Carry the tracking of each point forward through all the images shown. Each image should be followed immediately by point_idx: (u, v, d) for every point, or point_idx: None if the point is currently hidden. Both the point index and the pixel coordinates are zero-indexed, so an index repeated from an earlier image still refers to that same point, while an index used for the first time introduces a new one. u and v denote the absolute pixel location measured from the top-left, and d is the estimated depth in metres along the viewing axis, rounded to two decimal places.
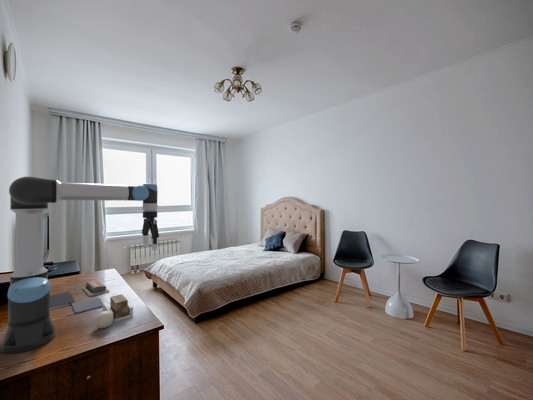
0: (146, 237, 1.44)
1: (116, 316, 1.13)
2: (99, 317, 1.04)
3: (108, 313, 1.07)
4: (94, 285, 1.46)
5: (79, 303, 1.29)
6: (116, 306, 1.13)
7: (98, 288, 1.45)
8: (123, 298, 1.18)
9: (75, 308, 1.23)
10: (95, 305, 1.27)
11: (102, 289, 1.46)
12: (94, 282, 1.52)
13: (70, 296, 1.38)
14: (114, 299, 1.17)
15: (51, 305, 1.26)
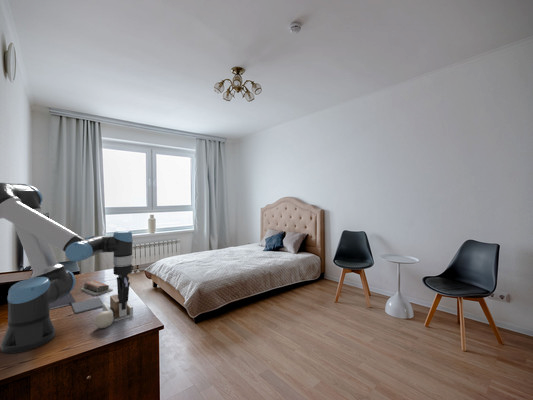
0: None
1: (116, 315, 1.14)
2: (99, 317, 1.04)
3: (108, 313, 1.07)
4: (96, 285, 1.47)
5: (79, 303, 1.29)
6: (116, 305, 1.14)
7: (102, 287, 1.46)
8: None
9: (75, 308, 1.23)
10: (95, 305, 1.27)
11: (105, 288, 1.48)
12: (94, 282, 1.51)
13: (70, 296, 1.38)
14: (114, 298, 1.18)
15: (51, 305, 1.26)
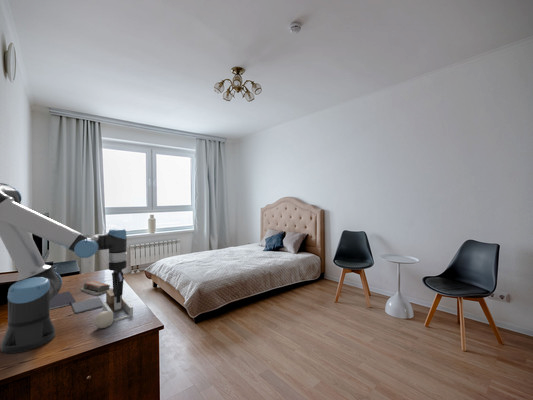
0: None
1: (111, 308, 1.21)
2: (99, 317, 1.04)
3: (108, 313, 1.07)
4: (97, 285, 1.47)
5: (79, 303, 1.29)
6: (111, 299, 1.21)
7: (103, 287, 1.46)
8: None
9: (75, 308, 1.23)
10: (95, 305, 1.27)
11: (106, 288, 1.48)
12: (94, 282, 1.51)
13: (70, 296, 1.38)
14: (109, 292, 1.25)
15: (51, 305, 1.26)
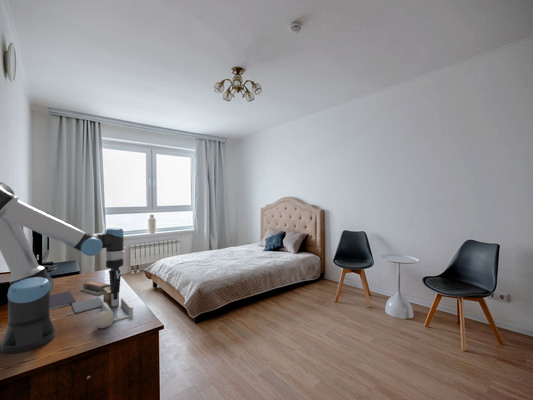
0: None
1: (108, 305, 1.25)
2: (99, 317, 1.04)
3: (108, 313, 1.07)
4: (98, 284, 1.47)
5: (79, 303, 1.29)
6: (108, 296, 1.25)
7: (104, 287, 1.47)
8: None
9: (75, 308, 1.23)
10: (95, 305, 1.27)
11: None
12: (94, 282, 1.51)
13: (70, 296, 1.38)
14: (106, 290, 1.29)
15: (51, 305, 1.26)
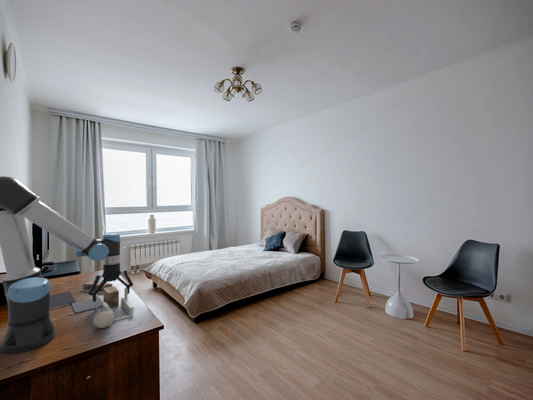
0: (125, 290, 1.33)
1: (108, 305, 1.25)
2: (99, 317, 1.04)
3: (108, 313, 1.07)
4: None
5: (79, 303, 1.29)
6: (108, 296, 1.25)
7: (107, 286, 1.48)
8: (115, 289, 1.30)
9: (75, 308, 1.23)
10: None
11: None
12: None
13: (70, 296, 1.38)
14: (106, 290, 1.29)
15: (52, 305, 1.26)
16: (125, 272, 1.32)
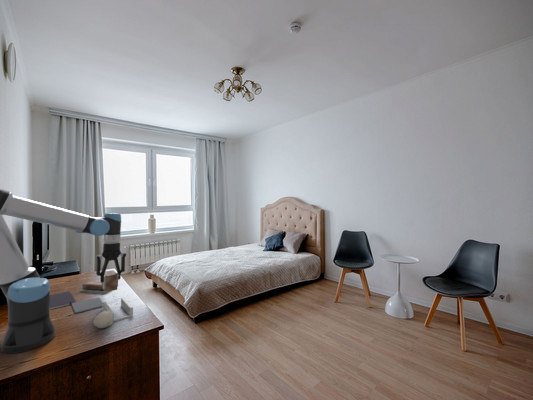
0: None
1: (106, 288, 1.25)
2: (99, 317, 1.04)
3: (108, 313, 1.07)
4: (101, 284, 1.48)
5: (79, 303, 1.29)
6: (107, 279, 1.25)
7: None
8: (114, 273, 1.30)
9: (75, 308, 1.23)
10: (95, 305, 1.27)
11: None
12: (94, 282, 1.51)
13: (70, 296, 1.38)
14: (105, 273, 1.28)
15: (52, 305, 1.26)
16: (124, 255, 1.32)
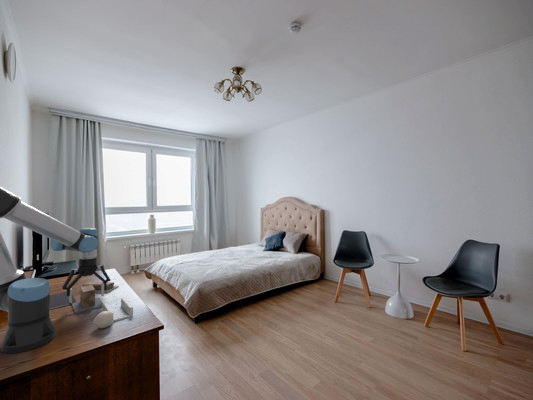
0: (102, 285, 1.32)
1: (84, 304, 1.25)
2: (99, 317, 1.04)
3: (108, 313, 1.07)
4: None
5: (79, 303, 1.29)
6: (84, 295, 1.25)
7: (110, 285, 1.50)
8: (91, 288, 1.30)
9: (75, 308, 1.23)
10: (95, 305, 1.27)
11: (112, 286, 1.52)
12: (94, 282, 1.51)
13: None
14: (83, 289, 1.28)
15: (52, 305, 1.26)
16: (102, 267, 1.31)
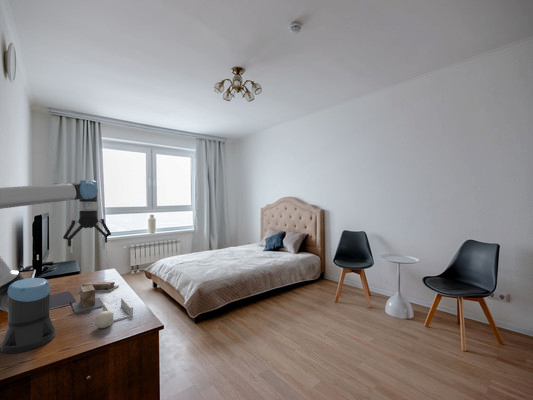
0: (102, 239, 1.32)
1: (84, 304, 1.25)
2: (99, 317, 1.04)
3: (108, 313, 1.07)
4: (104, 283, 1.50)
5: (79, 303, 1.29)
6: (84, 295, 1.25)
7: (111, 284, 1.51)
8: (91, 288, 1.30)
9: (75, 308, 1.23)
10: (95, 305, 1.27)
11: (113, 285, 1.53)
12: (94, 282, 1.51)
13: (70, 296, 1.38)
14: (83, 289, 1.28)
15: (52, 305, 1.26)
16: (102, 220, 1.32)
